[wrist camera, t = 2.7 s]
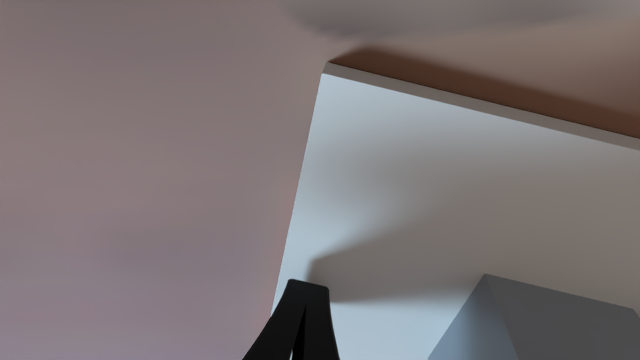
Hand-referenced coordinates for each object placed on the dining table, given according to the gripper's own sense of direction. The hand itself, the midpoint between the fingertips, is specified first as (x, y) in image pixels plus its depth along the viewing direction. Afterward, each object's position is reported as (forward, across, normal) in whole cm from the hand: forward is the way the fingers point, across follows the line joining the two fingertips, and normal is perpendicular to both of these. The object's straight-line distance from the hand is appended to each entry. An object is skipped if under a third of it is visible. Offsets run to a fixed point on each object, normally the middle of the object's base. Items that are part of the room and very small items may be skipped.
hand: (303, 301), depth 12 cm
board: (+2, -8, 0) cm, 8 cm away
